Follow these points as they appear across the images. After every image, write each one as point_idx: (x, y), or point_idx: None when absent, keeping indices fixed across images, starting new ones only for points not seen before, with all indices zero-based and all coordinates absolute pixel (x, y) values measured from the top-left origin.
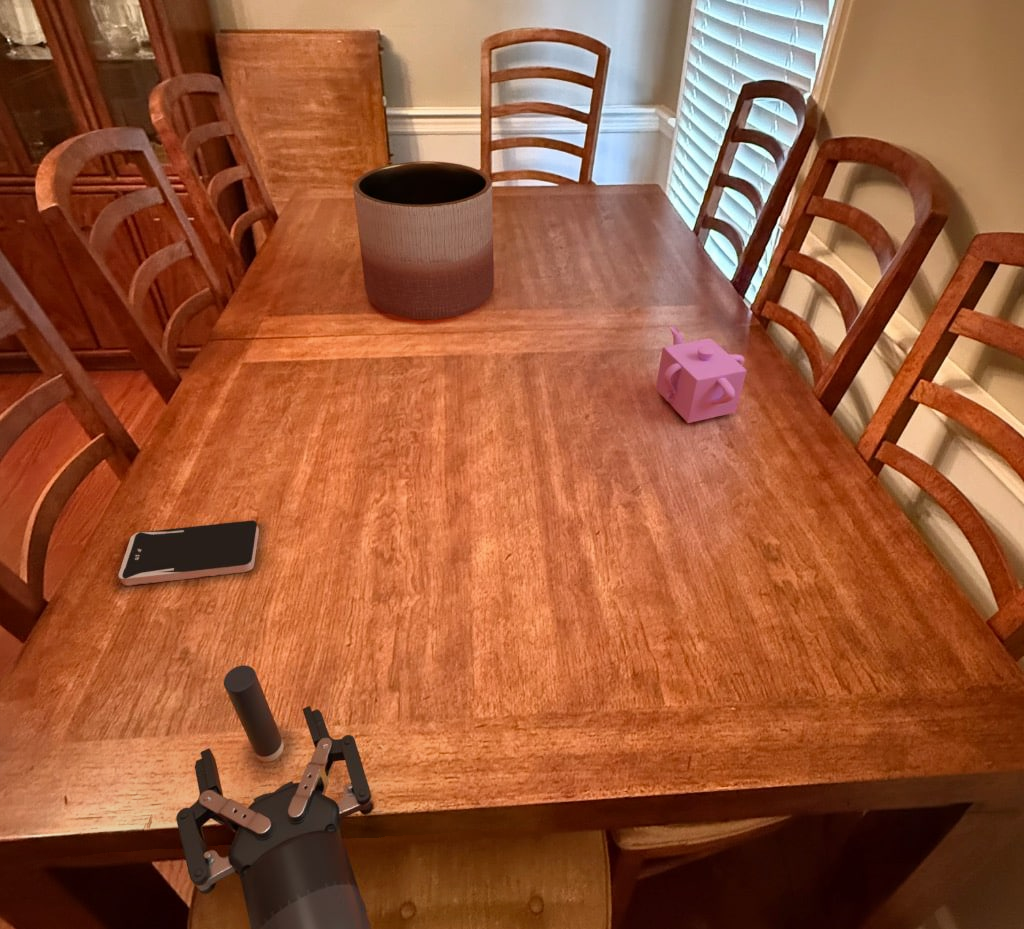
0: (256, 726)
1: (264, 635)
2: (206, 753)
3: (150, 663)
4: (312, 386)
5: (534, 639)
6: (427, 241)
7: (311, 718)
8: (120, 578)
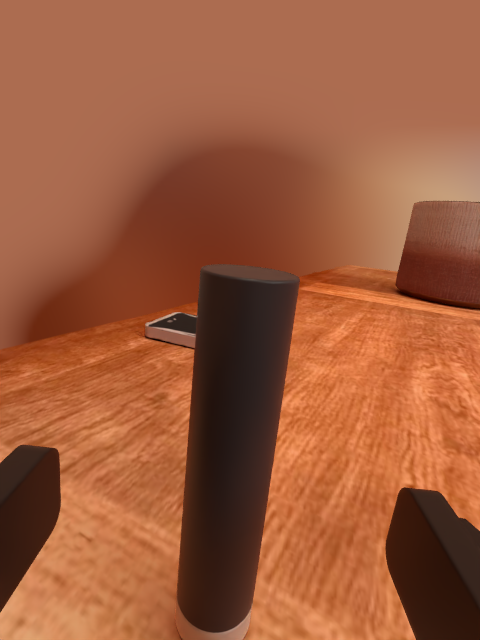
0: (221, 487)
1: None
2: (31, 453)
3: (116, 390)
4: (351, 305)
5: None
6: (475, 232)
7: (458, 535)
8: (145, 325)
